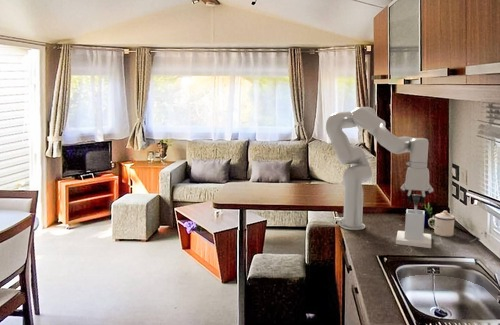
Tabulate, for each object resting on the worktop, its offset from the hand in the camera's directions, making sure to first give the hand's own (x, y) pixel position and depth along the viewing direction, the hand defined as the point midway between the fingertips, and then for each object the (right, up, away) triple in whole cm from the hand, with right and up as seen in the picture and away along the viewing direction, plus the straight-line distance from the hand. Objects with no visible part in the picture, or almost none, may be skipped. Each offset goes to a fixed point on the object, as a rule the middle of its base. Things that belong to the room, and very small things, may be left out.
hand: (415, 204), depth 205 cm
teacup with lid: (+17, -16, +14) cm, 27 cm away
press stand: (0, -18, +3) cm, 18 cm away
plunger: (0, -14, +2) cm, 14 cm away
